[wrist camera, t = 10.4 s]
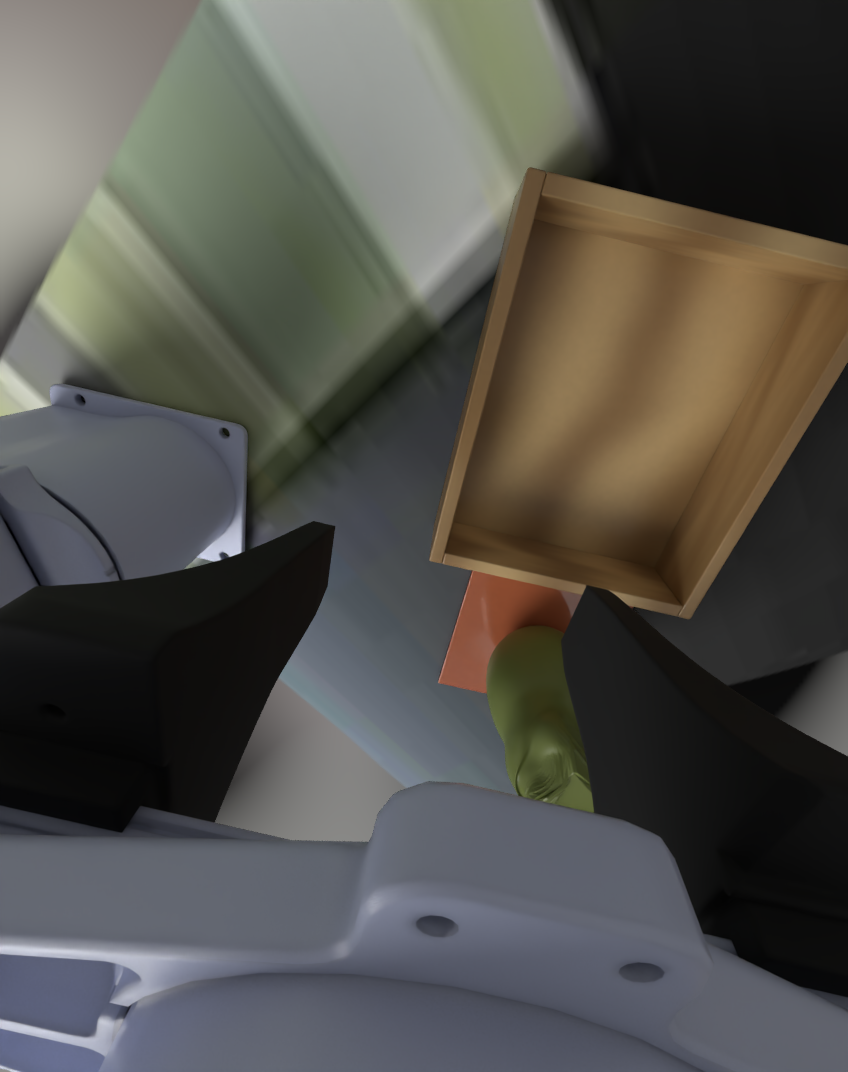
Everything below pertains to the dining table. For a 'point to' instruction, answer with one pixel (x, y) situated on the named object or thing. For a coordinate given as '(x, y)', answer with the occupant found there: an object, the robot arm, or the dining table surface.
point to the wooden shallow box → (635, 391)
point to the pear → (538, 718)
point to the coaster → (498, 623)
